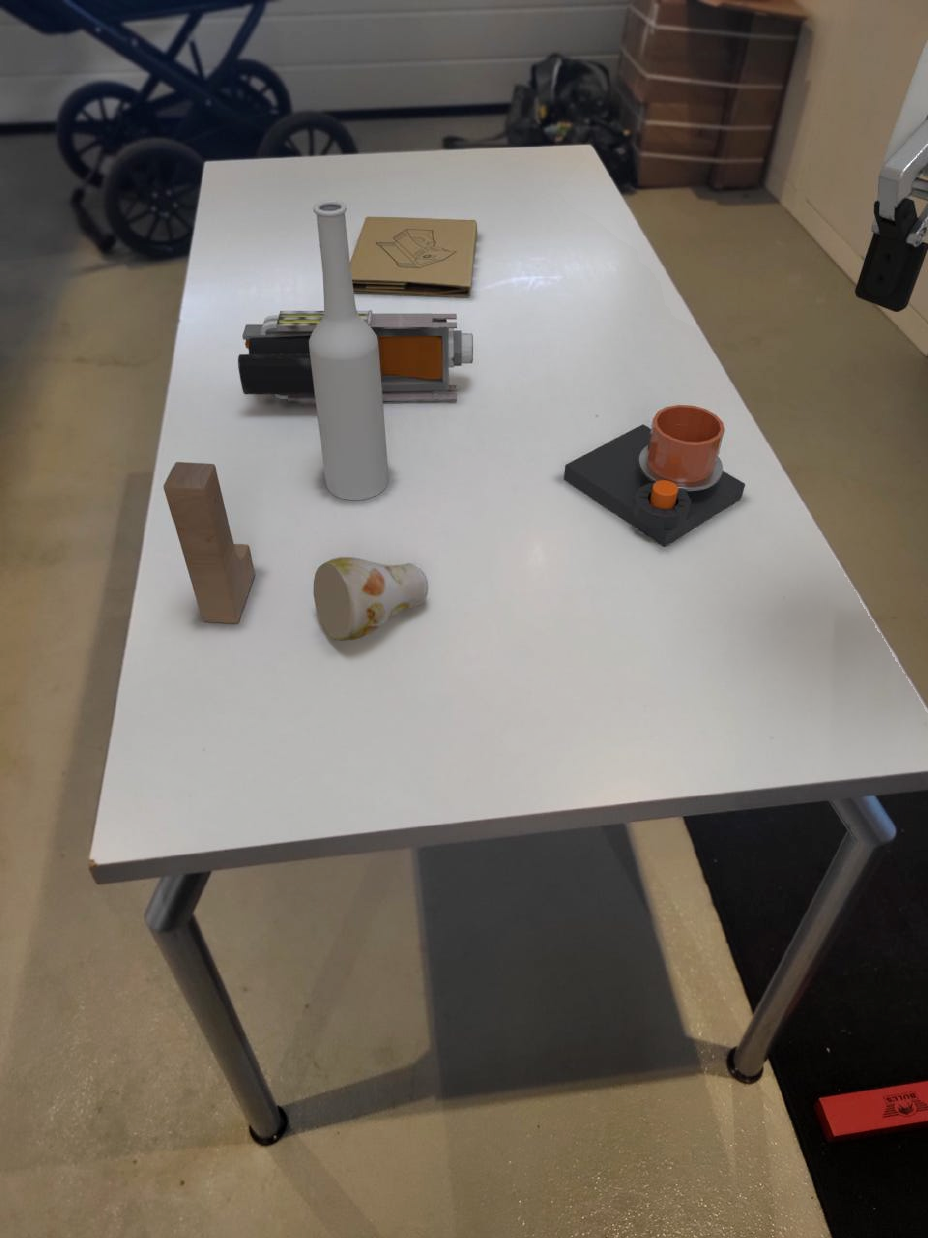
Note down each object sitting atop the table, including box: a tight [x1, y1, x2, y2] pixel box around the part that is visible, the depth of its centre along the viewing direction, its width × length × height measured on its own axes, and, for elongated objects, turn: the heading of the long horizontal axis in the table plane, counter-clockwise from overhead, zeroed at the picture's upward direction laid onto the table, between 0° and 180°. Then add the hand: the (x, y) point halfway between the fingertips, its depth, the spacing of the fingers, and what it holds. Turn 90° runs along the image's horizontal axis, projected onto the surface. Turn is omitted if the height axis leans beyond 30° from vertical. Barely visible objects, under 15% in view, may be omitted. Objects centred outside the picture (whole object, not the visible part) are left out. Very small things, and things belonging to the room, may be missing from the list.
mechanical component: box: [237, 309, 474, 405], centre depth 100 cm, size 9×26×10 cm, turn 91°
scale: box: [563, 423, 746, 547], centre depth 91 cm, size 14×13×4 cm
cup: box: [646, 404, 726, 483], centre depth 87 cm, size 7×7×4 cm
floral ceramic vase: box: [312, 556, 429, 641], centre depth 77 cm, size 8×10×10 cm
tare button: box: [650, 480, 678, 509], centre depth 85 cm, size 2×2×2 cm
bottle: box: [309, 199, 389, 501], centre depth 83 cm, size 7×7×28 cm
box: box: [350, 216, 478, 298], centre depth 129 cm, size 21×18×2 cm
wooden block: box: [162, 461, 256, 624], centre depth 75 cm, size 7×3×15 cm, turn 176°
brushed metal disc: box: [638, 445, 724, 491], centre depth 89 cm, size 8×8×1 cm
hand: (922, 280), depth 56 cm, fingers open, 9 cm apart
